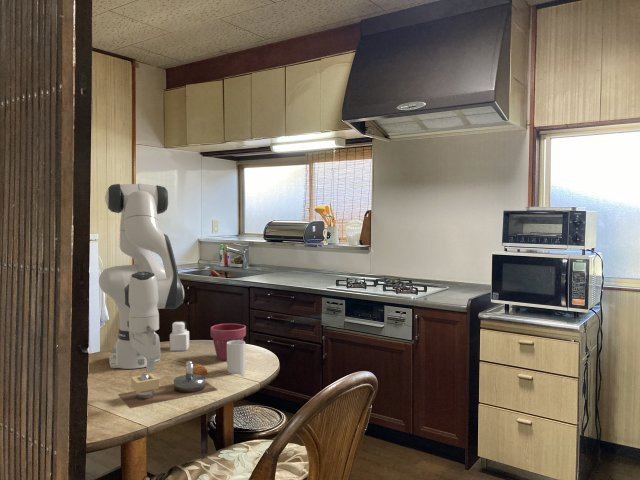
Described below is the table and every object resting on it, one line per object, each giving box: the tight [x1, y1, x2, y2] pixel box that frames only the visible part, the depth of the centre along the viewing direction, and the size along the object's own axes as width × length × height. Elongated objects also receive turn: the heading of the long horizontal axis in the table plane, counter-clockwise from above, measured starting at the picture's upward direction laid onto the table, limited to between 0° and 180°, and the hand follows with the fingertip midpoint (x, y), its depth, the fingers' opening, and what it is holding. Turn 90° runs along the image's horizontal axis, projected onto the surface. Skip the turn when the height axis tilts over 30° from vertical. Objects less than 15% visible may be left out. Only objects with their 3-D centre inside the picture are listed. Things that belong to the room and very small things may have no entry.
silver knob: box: [136, 373, 154, 400], centre depth 163 cm, size 5×5×7 cm
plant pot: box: [210, 323, 247, 361], centre depth 212 cm, size 14×14×13 cm
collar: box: [130, 373, 160, 393], centre depth 163 cm, size 7×7×3 cm
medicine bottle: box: [169, 320, 190, 352], centre depth 225 cm, size 7×7×12 cm
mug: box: [226, 340, 246, 377], centre depth 192 cm, size 10×7×12 cm, turn 170°
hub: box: [173, 360, 206, 393], centre depth 171 cm, size 10×10×9 cm
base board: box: [117, 380, 218, 409], centre depth 168 cm, size 14×28×2 cm, turn 125°
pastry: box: [193, 363, 208, 377], centre depth 188 cm, size 9×7×4 cm
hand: (145, 368), depth 162 cm, fingers open, 8 cm apart
